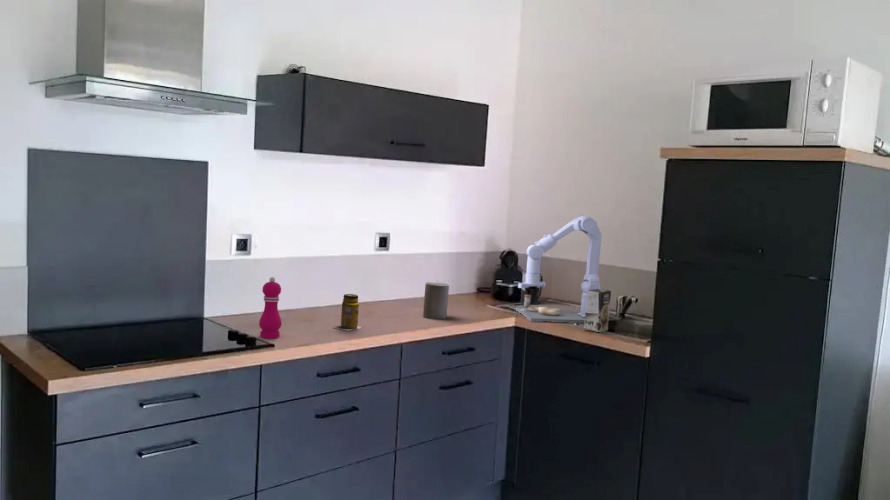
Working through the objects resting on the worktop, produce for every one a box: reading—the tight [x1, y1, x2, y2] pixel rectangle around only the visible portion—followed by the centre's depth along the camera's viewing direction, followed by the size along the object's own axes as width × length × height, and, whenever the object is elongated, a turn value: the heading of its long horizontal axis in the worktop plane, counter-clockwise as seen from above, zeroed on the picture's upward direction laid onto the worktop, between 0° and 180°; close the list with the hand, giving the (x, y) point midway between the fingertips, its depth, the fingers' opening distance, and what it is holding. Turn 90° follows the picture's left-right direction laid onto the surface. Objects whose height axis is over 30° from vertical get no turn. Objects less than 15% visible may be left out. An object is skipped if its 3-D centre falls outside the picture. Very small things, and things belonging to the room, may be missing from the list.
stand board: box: [515, 307, 585, 324], centre depth 310 cm, size 24×24×2 cm
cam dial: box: [523, 295, 561, 315], centre depth 310 cm, size 16×9×7 cm, turn 66°
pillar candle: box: [422, 280, 450, 320], centre depth 293 cm, size 10×10×15 cm
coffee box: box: [583, 289, 612, 333], centre depth 287 cm, size 9×6×16 cm
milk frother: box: [519, 270, 544, 305], centre depth 347 cm, size 14×16×15 cm
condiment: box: [332, 293, 363, 332], centre depth 262 cm, size 7×8×12 cm
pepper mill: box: [258, 276, 282, 340], centre depth 239 cm, size 7×7×20 cm
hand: (530, 303), depth 315 cm, fingers closed
